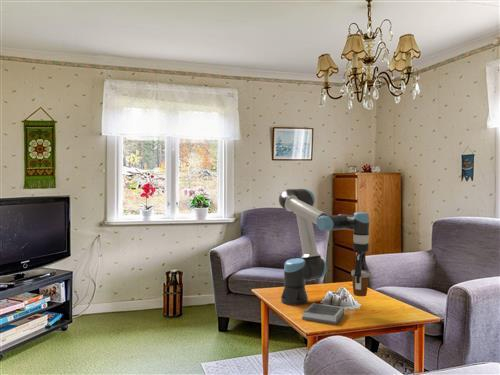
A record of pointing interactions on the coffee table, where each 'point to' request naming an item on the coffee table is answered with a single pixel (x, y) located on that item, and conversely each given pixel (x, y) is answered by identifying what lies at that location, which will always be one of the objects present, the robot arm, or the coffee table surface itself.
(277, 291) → the coffee table surface
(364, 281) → the disposable coffee cup
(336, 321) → the tray
